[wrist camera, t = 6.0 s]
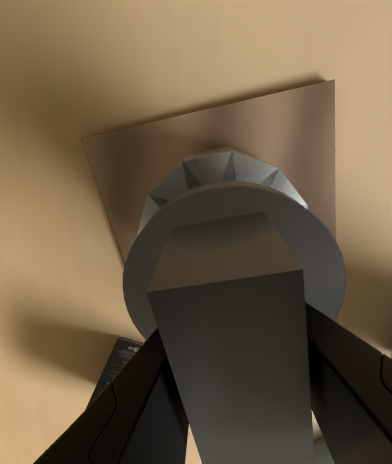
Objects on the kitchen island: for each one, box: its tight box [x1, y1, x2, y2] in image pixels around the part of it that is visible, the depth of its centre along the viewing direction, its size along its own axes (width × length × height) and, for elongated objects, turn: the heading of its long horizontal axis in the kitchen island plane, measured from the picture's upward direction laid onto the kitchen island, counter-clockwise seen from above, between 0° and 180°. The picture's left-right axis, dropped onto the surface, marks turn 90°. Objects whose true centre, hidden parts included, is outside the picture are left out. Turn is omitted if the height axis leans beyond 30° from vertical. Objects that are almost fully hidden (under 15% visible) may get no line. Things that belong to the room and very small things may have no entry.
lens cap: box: [123, 181, 346, 464], centre depth 9 cm, size 8×8×8 cm
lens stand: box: [81, 79, 335, 263], centre depth 18 cm, size 16×14×1 cm
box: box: [86, 338, 143, 409], centre depth 20 cm, size 8×6×11 cm
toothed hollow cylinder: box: [137, 147, 307, 236], centre depth 16 cm, size 9×9×4 cm
